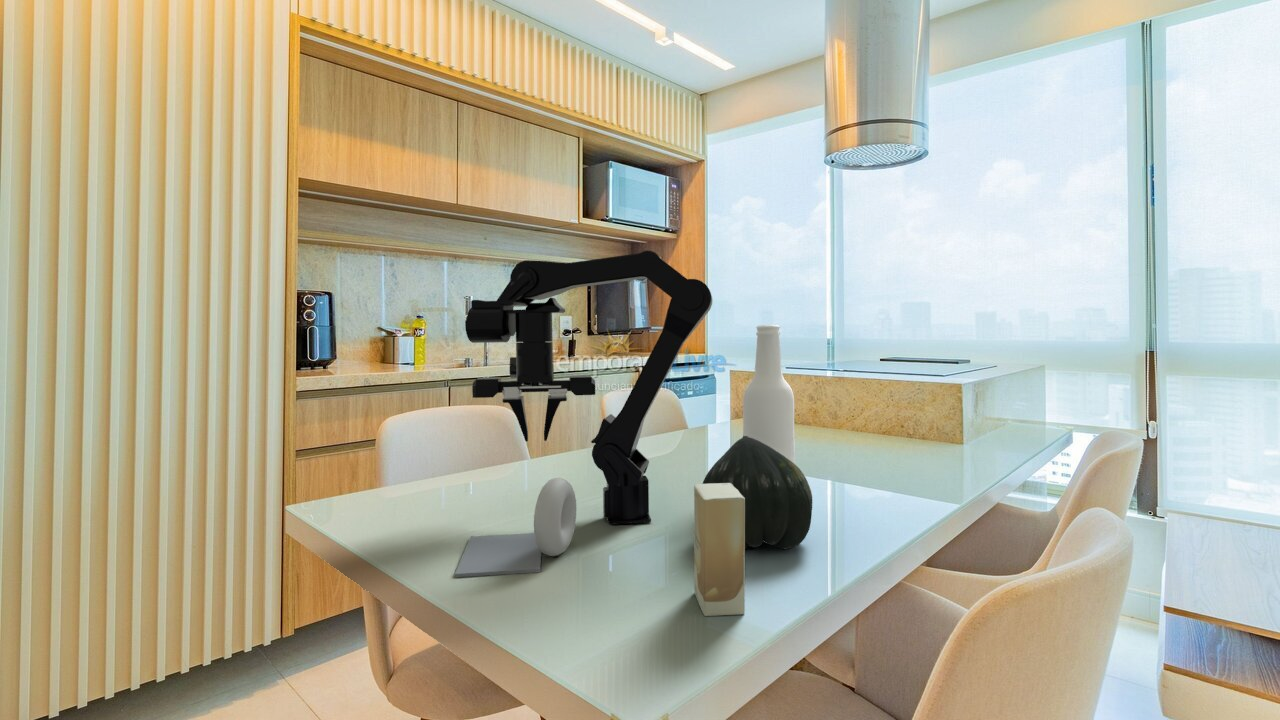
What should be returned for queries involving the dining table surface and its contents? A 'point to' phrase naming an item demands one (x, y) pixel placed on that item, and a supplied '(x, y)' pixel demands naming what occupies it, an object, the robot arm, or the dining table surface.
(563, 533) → the donut
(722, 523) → the skincare box
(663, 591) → the dining table surface
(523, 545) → the mat
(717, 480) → the squash
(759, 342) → the alcohol
